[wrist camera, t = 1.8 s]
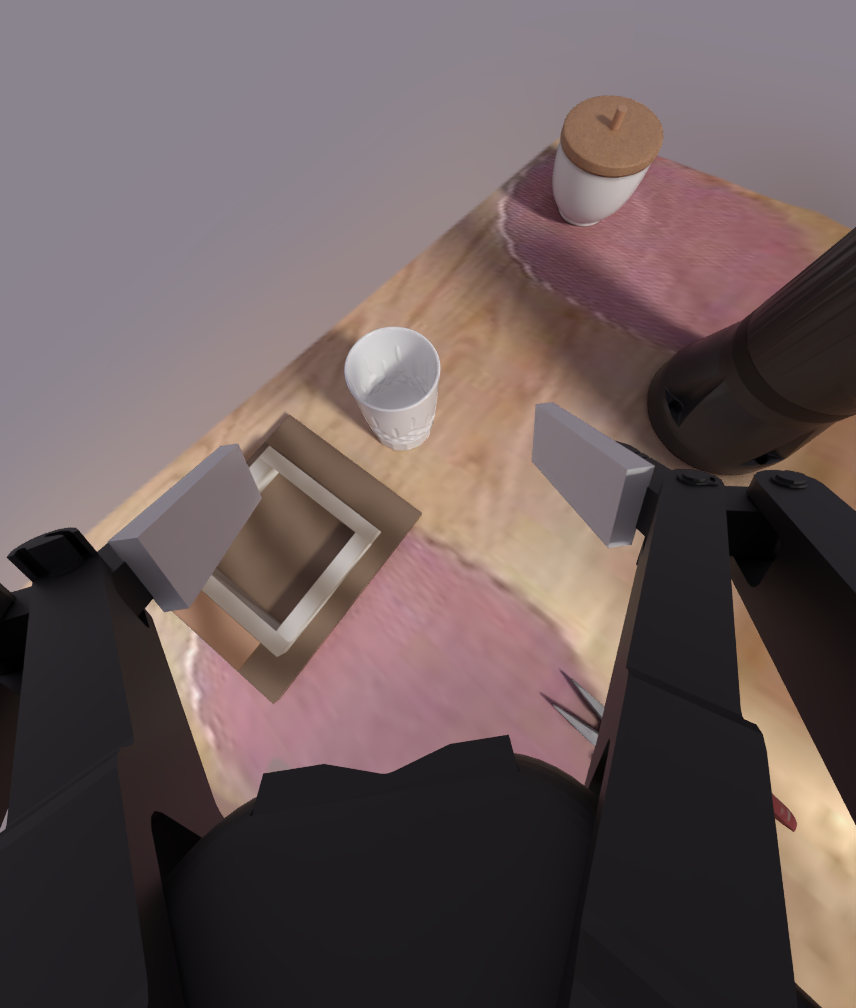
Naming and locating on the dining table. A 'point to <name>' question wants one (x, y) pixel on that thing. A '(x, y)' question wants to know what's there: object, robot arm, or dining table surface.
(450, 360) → the dining table surface
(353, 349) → the white cup
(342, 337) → the dining table surface
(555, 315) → the dining table surface
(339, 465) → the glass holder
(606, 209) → the lidded jar
